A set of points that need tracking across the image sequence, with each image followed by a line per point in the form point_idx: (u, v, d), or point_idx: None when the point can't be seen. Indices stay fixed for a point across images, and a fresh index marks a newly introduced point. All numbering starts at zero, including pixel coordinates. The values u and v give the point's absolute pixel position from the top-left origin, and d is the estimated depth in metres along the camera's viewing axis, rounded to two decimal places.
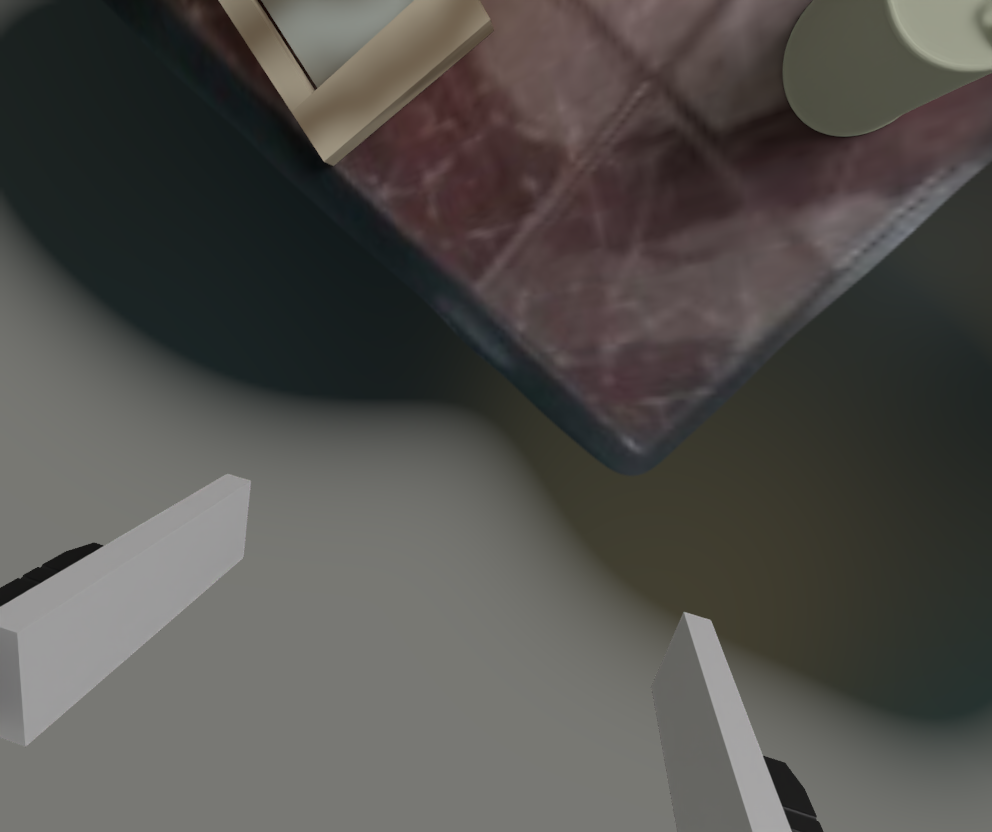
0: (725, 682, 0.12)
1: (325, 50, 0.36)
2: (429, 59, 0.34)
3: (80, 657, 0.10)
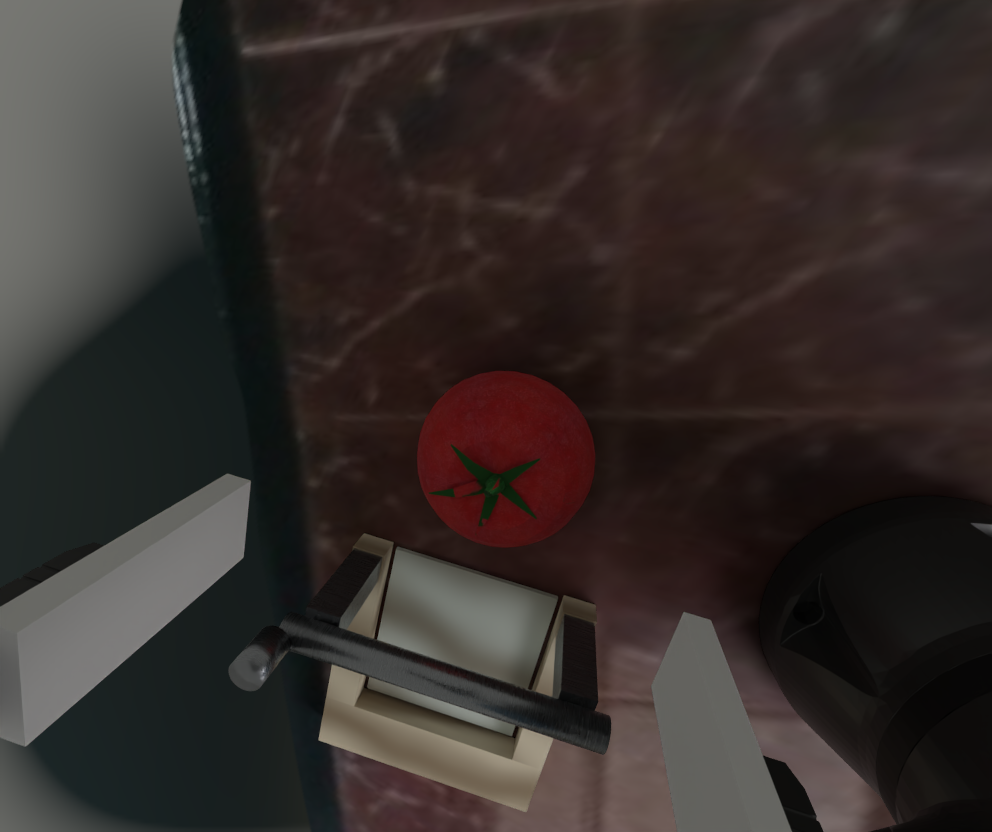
0: (725, 682, 0.12)
1: None
2: (461, 783, 0.34)
3: (80, 657, 0.10)
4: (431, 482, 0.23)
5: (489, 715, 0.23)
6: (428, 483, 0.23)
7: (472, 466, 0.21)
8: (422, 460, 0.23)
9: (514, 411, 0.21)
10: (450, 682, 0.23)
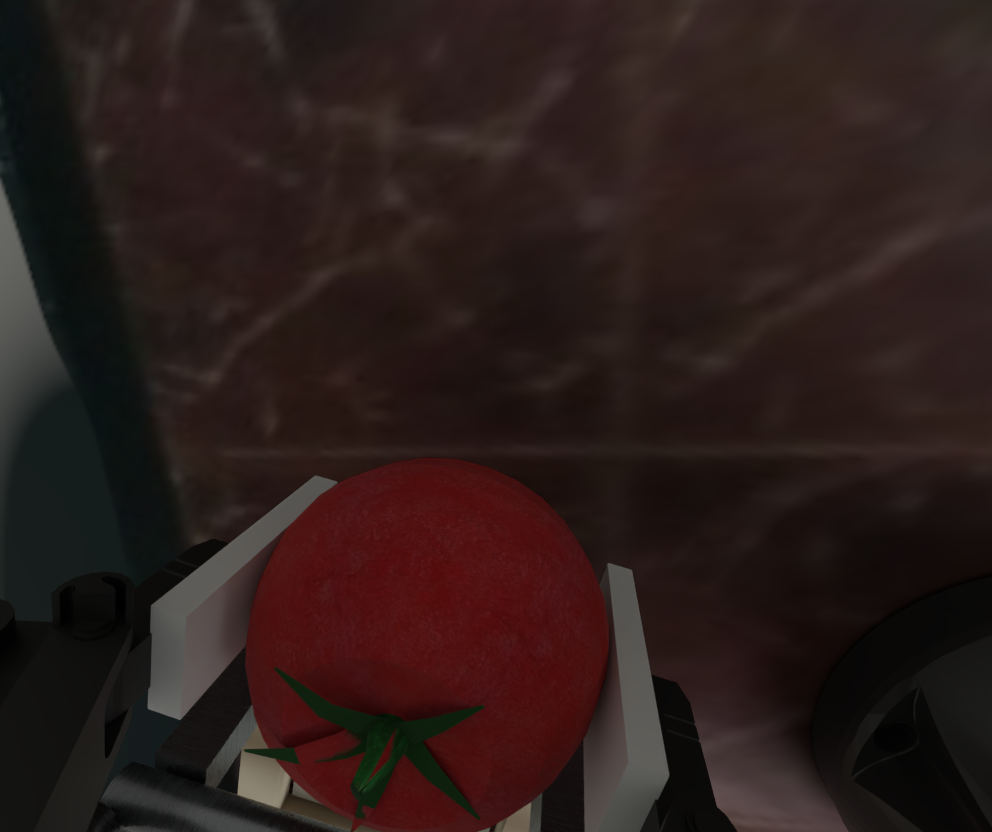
0: (631, 617, 0.13)
1: None
2: None
3: (219, 641, 0.11)
4: (258, 717, 0.10)
5: None
6: None
7: (331, 711, 0.09)
8: (246, 660, 0.11)
9: (427, 584, 0.09)
10: None
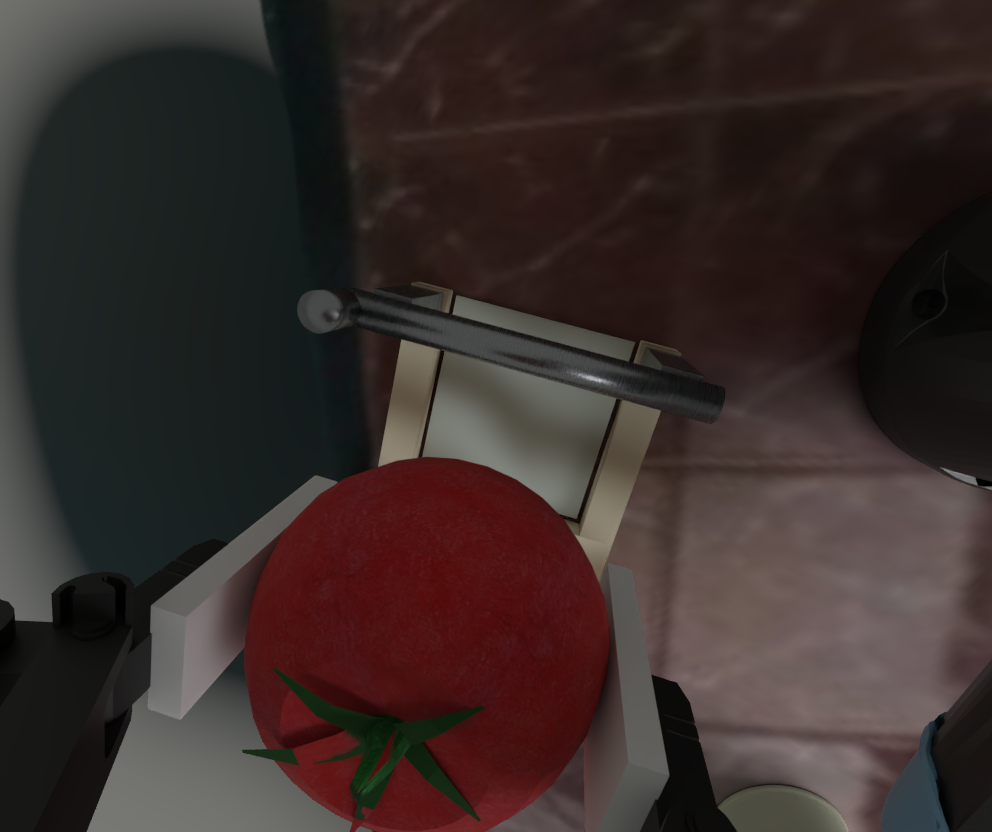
0: (631, 617, 0.13)
1: (454, 455, 0.32)
2: None
3: (219, 641, 0.11)
4: (256, 718, 0.10)
5: (586, 381, 0.20)
6: None
7: (330, 712, 0.09)
8: (245, 661, 0.11)
9: (427, 584, 0.09)
10: (541, 345, 0.21)
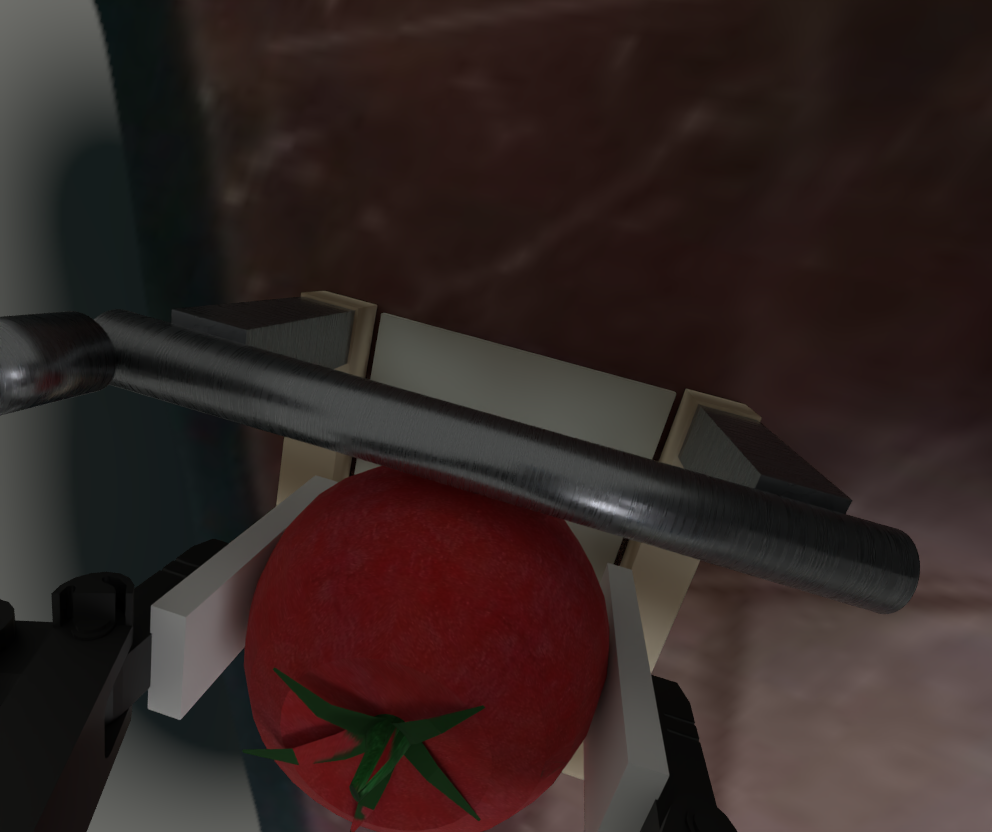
0: (631, 617, 0.13)
1: None
2: None
3: (219, 641, 0.11)
4: (257, 718, 0.10)
5: (600, 518, 0.09)
6: (253, 713, 0.11)
7: (331, 712, 0.09)
8: (245, 661, 0.11)
9: (427, 584, 0.09)
10: (501, 439, 0.09)
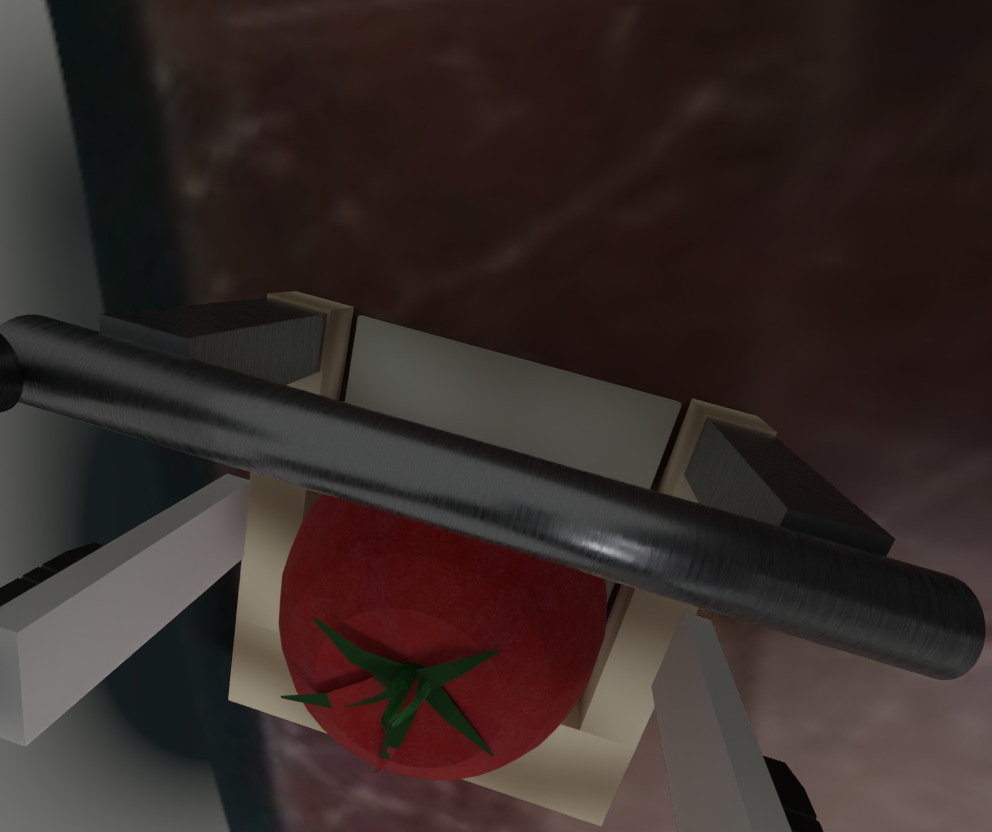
0: (725, 682, 0.12)
1: None
2: (483, 774, 0.19)
3: (80, 657, 0.10)
4: (292, 669, 0.12)
5: (599, 566, 0.08)
6: (288, 666, 0.12)
7: (362, 657, 0.10)
8: (280, 619, 0.12)
9: (448, 545, 0.10)
10: (481, 470, 0.08)
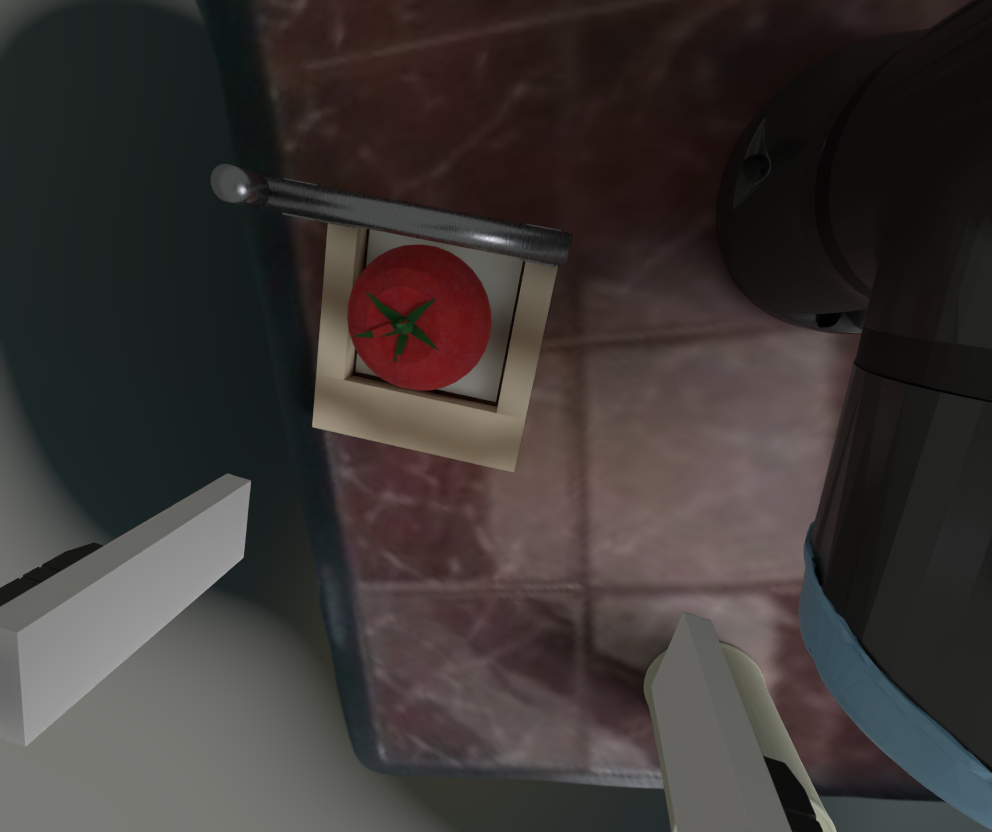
0: (725, 682, 0.12)
1: None
2: (450, 450, 0.36)
3: (80, 657, 0.10)
4: (356, 330, 0.29)
5: (459, 235, 0.25)
6: (354, 332, 0.29)
7: (385, 309, 0.27)
8: (349, 315, 0.29)
9: (415, 264, 0.27)
10: (420, 208, 0.25)
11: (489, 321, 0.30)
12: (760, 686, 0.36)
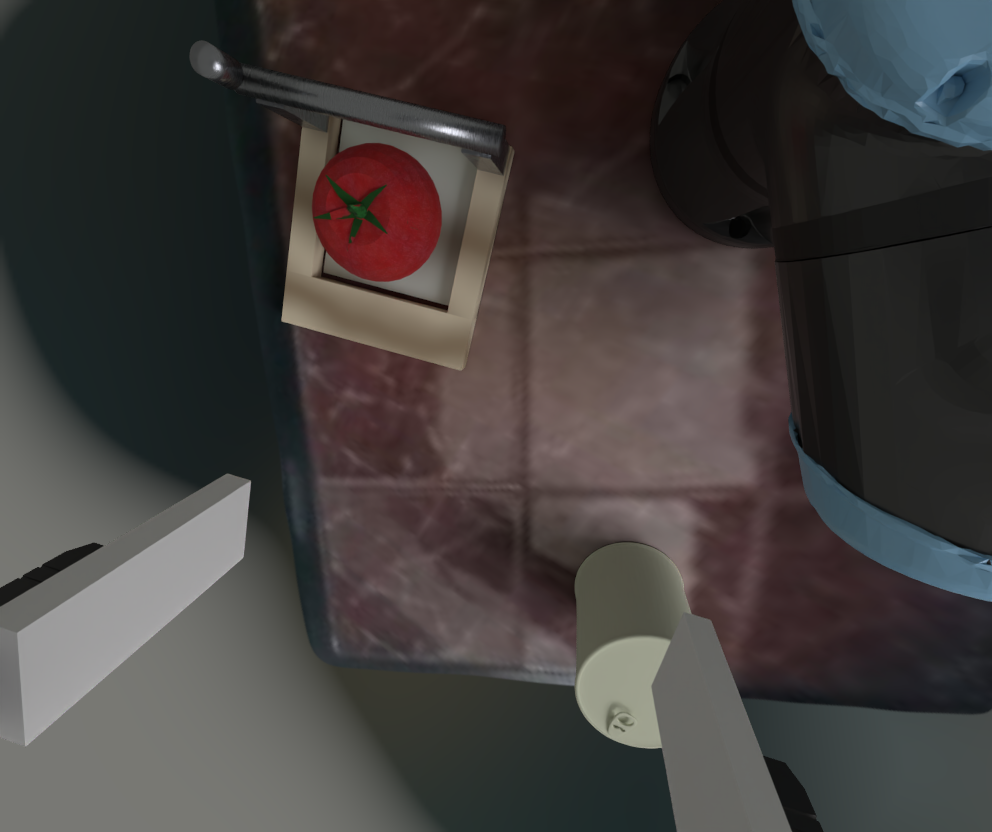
0: (725, 682, 0.12)
1: None
2: (405, 347, 0.39)
3: (80, 657, 0.10)
4: (317, 214, 0.32)
5: (406, 121, 0.28)
6: (315, 216, 0.32)
7: (342, 193, 0.31)
8: (312, 201, 0.32)
9: (371, 155, 0.31)
10: (374, 96, 0.28)
11: (438, 218, 0.33)
12: (674, 579, 0.40)
